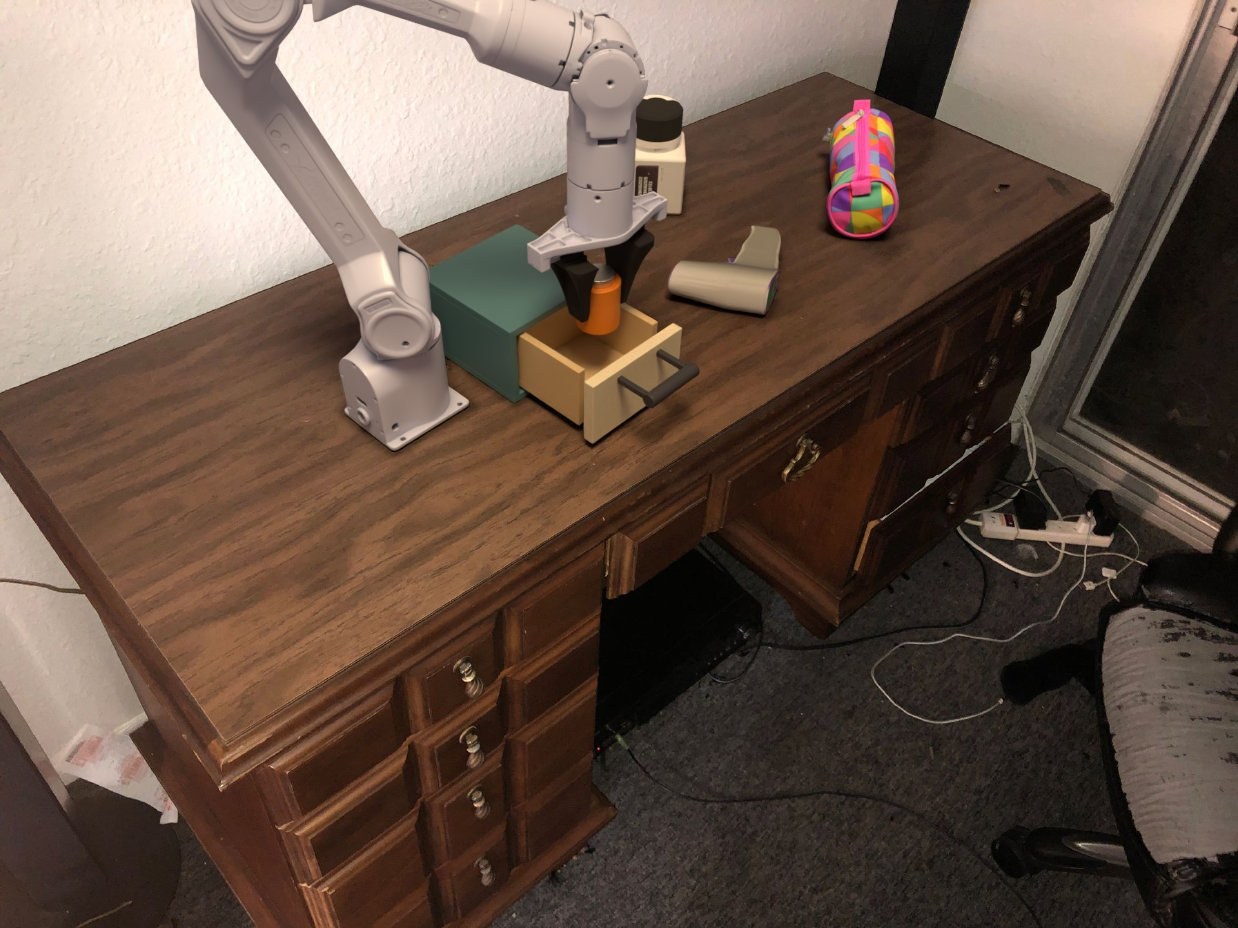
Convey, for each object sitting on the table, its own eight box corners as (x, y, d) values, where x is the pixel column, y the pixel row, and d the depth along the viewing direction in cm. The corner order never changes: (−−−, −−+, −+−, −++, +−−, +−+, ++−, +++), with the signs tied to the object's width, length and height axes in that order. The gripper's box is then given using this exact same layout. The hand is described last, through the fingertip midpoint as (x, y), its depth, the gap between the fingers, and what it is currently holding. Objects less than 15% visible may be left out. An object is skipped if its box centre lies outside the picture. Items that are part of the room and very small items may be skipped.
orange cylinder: (628, 324, 90) (630, 274, 87) (594, 340, 88) (595, 291, 85) (600, 303, 93) (601, 254, 89) (566, 319, 91) (566, 270, 87)
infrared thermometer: (782, 257, 116) (772, 321, 105) (684, 243, 118) (664, 305, 107) (788, 222, 113) (778, 285, 102) (688, 209, 115) (667, 269, 104)
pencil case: (817, 158, 133) (829, 95, 126) (885, 165, 132) (901, 101, 126) (818, 241, 117) (832, 174, 111) (895, 248, 117) (913, 181, 110)
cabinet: (607, 344, 102) (609, 274, 95) (514, 403, 94) (509, 333, 88) (520, 292, 108) (517, 223, 102) (427, 344, 101) (416, 274, 94)
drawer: (713, 405, 94) (720, 349, 89) (629, 468, 87) (632, 412, 82) (588, 330, 102) (588, 275, 97) (502, 383, 95) (498, 327, 90)
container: (681, 216, 121) (689, 118, 111) (620, 214, 121) (624, 115, 111) (679, 185, 126) (687, 89, 117) (621, 183, 126) (625, 87, 117)
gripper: (633, 133, 85) (628, 262, 95) (502, 182, 78) (510, 315, 88) (687, 163, 82) (676, 294, 91) (555, 217, 75) (557, 352, 84)
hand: (598, 307), depth 89 cm, fingers closed on orange cylinder, 4 cm apart
